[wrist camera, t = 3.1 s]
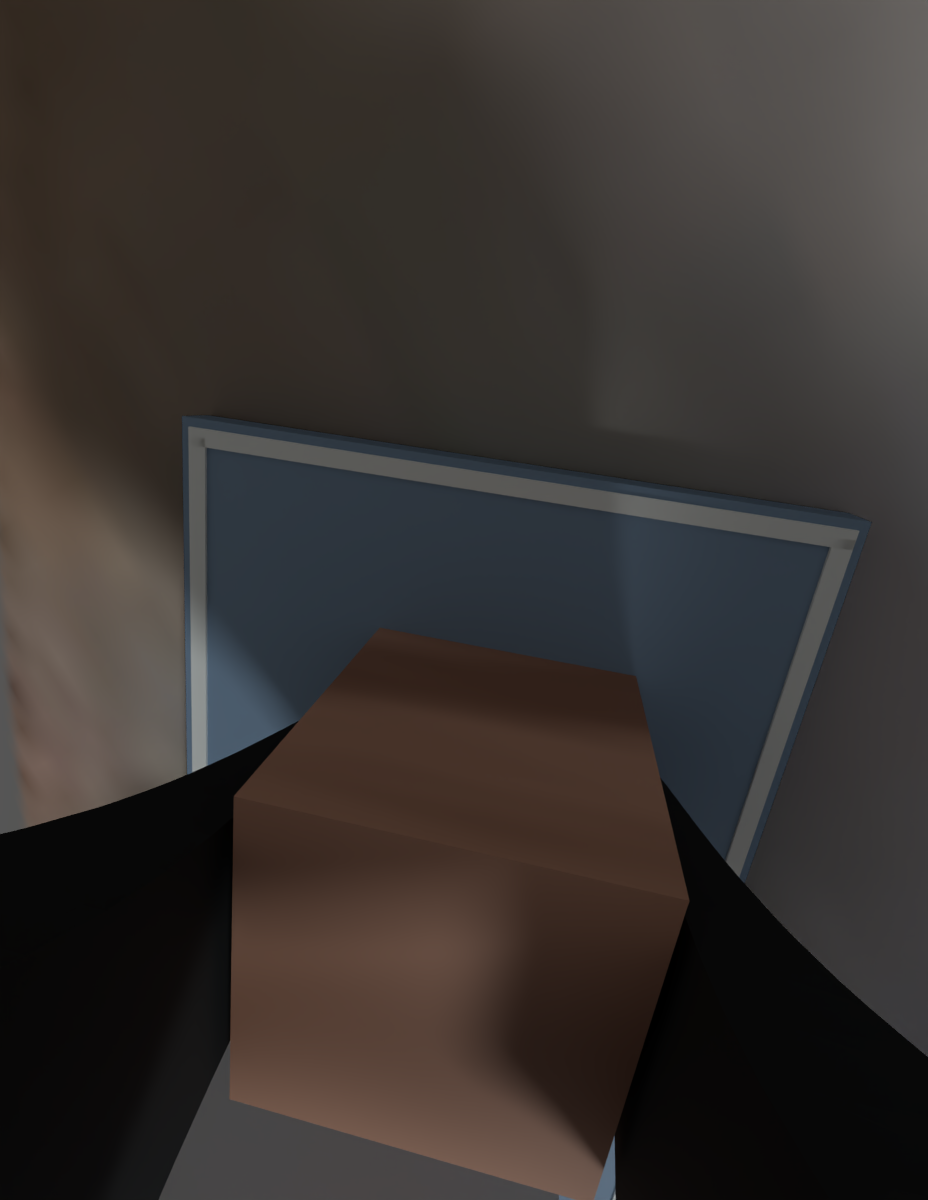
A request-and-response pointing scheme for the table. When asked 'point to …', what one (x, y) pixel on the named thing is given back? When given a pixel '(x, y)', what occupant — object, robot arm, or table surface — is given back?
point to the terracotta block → (455, 910)
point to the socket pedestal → (310, 1161)
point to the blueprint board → (508, 597)
